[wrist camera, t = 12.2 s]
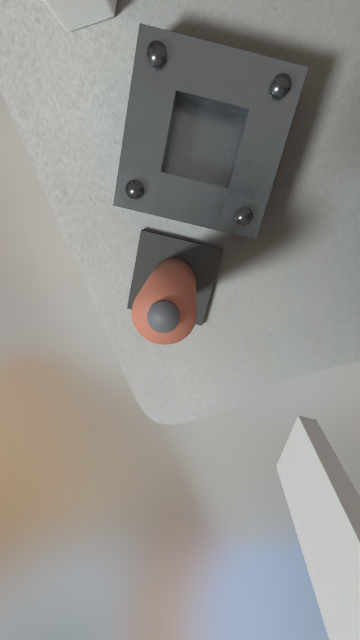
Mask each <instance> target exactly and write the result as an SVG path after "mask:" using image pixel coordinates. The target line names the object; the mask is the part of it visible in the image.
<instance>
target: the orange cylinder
mask: <svg viewBox="0 0 360 640" xmlns="http://www.w3.org/2000/svg"><path fill="white" fill-rule="evenodd" d="M196 317H197V307H196V276H195V273H194V270H193V268H192V267H191V266H190V265H189V264H188V263H187V262H186V261H184V260H182V259H179V258H168V259H165V260H163V261H161V262H160V263H158V264H157V265H156V267H155V268H154V270H153V271H152V273H151V274H150V276H149V278H148V279H147V281H146V282H145V284H144V286H143V287H142V289H141V290H140V292H139V293H138V295H137V297H136V298H135V300H134V302H133V306H132V320H133V323H134V325H135V327H136V329H137V331H138V332H139V333H140V334H141V335H142V336H143V337H144V338H146V339H147V340H149V341H151V342H154V343H157V344H173V343H176V342H179V341H181V340H183V339H184V338H185V337H187V336H188V335H189V334H190V332H191V331H192V330H193V328H194V326H195V323H196Z"/></svg>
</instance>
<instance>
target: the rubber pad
mask: <svg viewBox="0 0 360 640" xmlns="http://www.w3.org/2000/svg"><path fill="white" fill-rule="evenodd" d="M221 254H222V249H220V248H216V247H211V246H207V245H203V244H199V243H195V242H190V241H186V240H182V239H178V238H174V237H170V236H165V235H161V234H157V233H153V232H149V231H144V230H141V234H140V240H139V245H138V251H137V257H136V262H135V268H134V273H133V279H132V285H131V290H130V296H129V301H128V307H127V308H128V309H132V306H133V302H134V300H135V298H136V297H137V295H138V293H139V292H140V290H141V289H142V287H143V286H144V284H145V282H146V281H147V279H148V278H149V276H150V274H151V273H152V271H153V270H154V268H155V267H156V265H157V264H158V263H160V262H161V261H163V260H165V259H168V258H179V259H182V260H184V261H186V262H187V263H188V264H189V265H190V266H191V267H192V268H193V270H194V273H195V276H196V307H197V317H196V323H195V324H198V325H202V324H203V321H204V317H205V313H206V310H207V306H208V302H209V298H210V295H211V291H212V287H213V284H214V280H215V276H216V273H217V269H218V265H219V261H220V258H221Z"/></svg>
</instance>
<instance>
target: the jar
mask: <svg viewBox="0 0 360 640" xmlns="http://www.w3.org/2000/svg"><path fill="white" fill-rule="evenodd" d="M40 1H41V3H42V4H43V5H44V6H45V7H46V8H47V10H48V11H49V12H50V13H51V14H52V15H53V17H54V18H55V19H56V20H57V21H58V22H59V24H60V25H61V26H62V27H63V28H64V29H65V31H67V32H71V31H74V30H77V29H80V28H83V27H86V26H88V25H91V24H94V23H97V22H100V21H103V20H106V19H109V18H112V17H114V15H115V10H116V4H117V0H40Z"/></svg>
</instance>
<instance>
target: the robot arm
mask: <svg viewBox="0 0 360 640" xmlns="http://www.w3.org/2000/svg"><path fill="white" fill-rule="evenodd" d="M277 470H278V474H279V477H280V480H281V483H282V487H283V490H284V493H285V497H286V500H287V503H288V506H289V510H290V512H291V516H292V519H293V523H294V526H295V529H296V533H297V536H298V539H299V542H300V546H301V549H302V552H303V555H304V559H305V562H306V565H307V568H308V571H309V575H310V578H311V581H312V585H313V588H314V591H315V595H316V598H317V601H318V604H319V607H320V611H321V614H322V617H323V621H324V624H325V627H326V631H327V634H328V637H329V640H360V497H359V495H358V493H357V492H356V490H355V488H354V486H353V484H352V483H351V481H350V479H349V477H348V475H347V474H346V472H345V470H344V468H343V467H342V465H341V463H340V461H339V460H338V458H337V456H336V454H335V452H334V451H333V449H332V447H331V445H330V443H329V442H328V440H327V438H326V436H325V435H324V433H323V431H322V429H321V428H320V426H319V424H318V423H317V420H315V419H310V418H306V417H302V416H298V417H297V420H296V422H295V425H294V427H293V429H292V431H291V434H290V436H289V439H288V441H287V443H286V446H285V448H284V450H283V452H282V455H281V457H280V459H279V462H278V464H277Z"/></svg>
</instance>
